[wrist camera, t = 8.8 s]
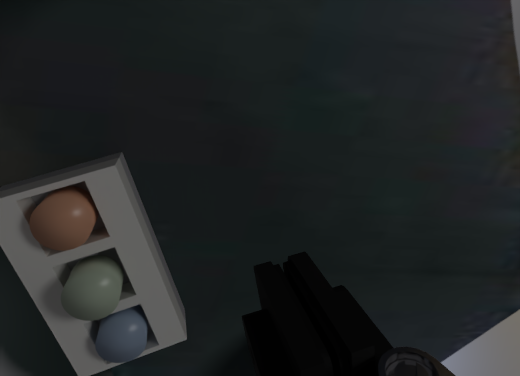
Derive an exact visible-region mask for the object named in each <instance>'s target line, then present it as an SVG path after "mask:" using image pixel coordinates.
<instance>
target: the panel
mask: <svg viewBox="0 0 520 376" xmlns="http://www.w3.org/2000/svg"><path fill="white" fill-rule="evenodd" d="M65 186H74V187H79V188H81V189H84V190H86V191H87V192H89V193H90V194H91V196H92V198H93V200H94V202H95V205H96V207H97V209H98V211H99V215H98V218H97V221H96V223H95V225H94V227H93V230H92V232H91V234H90V236H89V238H88V239H87V240H86V242H85V243H83V244H82V245H81V246H79V247H77V248H74V249H71V250H63V251H61V250H53V249H50V248H47V247H45V246H43V245H42V244H40V243H39V242H38V241H37V240H36V239H35V238H34V236H33V235H32V233H31V230H30V226H29V221H30V217H31V214H32V212H33V211H34V210H35V208H36V207H37V206H38V205H39V204H40V203H41V202H42V201H43V200H44V199H45V197H46V196H47V195H48V194H49V193H50V192H52V191H53V190H55V189H58V188H62V187H65ZM0 246H1V247H2V249H3V251H4V253H5V254H6V256H7V257H8V259H9V261H10V262H11V264H12V266H13V267H14V269H15V271H16V272H17V274H18V276H19V277H20V279H21V281H22V282H23V284H24V286H25V287H26V289H27V291H28V293H29V294H30V296H31V298H32V299H33V301H34V303H35V304H36V306H37V308H38V309H39V311H40V313H41V314H42V316H43V318H44V319H45V321H46V322H47V324H48V326H49V327H50V329H51V331H52V333H53V334H54V336H55V338H56V339H57V341H58V343H59V344H60V346H61V348H62V349H63V351H64V353H65V354H66V356H67V358H68V359H69V361H70V363H71V364H72V366H73V368H74V369H75V371H76V373H77V374H78V376H90V375H93V374H95V373H97V372H101V371H103V370H106V369H109V368H111V367H114V366H117V365H119V364H122V363H113V362H109V361H106V360H104V359H103V358H101V357H100V356H99V355H98V353H97V351H96V348H95V343H96V339H97V335H98V331H99V327H100V323H101V319H99V320H94V321H85V320H79V319H76V318H74V317H72V316H71V315H69V314H68V313H67V312H66V311H65V310H64V308H63V306H62V304H61V293H62V291H63V288H64V286H65V284H66V282H67V280H68V278H69V275H70V273H71V271H72V269H73V267H74V266H75V265H76V263H78V262H79V261H80V260H82V259H84V258H86V257H89V256H94V255H102V256H107V257H109V258H112V259H114V260H115V261H116V262H117V263H118V264H119V265H120V266H121V268H122V270H123V273H124V279H123V285H122V290H121V295H120V300H119V303H118V306H117V307H116V309H115V310H114V311H113V312H112V313H111V314H113V313H115V312H118V311H121V310H124V309H127V308H130V307H133V306H135V305H140V306H141V307H142V308H143V310H144V312H145V315H146V317H147V319H148V330H147V343H146V347H145V349H144V351H143V352H142V353H141V354H140V355H139V356H138V357H141V356H144V355H146V354H149V353H152V352H154V351H157V350H160V349H162V348H165V347H168V346H170V345H173V344H176V343H179V342H181V341H184V340H187V334H186V321H185V309H184V307H183V304H182V302H181V299H180V297H179V294H178V292H177V289H176V287H175V284H174V282H173V279H172V276H171V274H170V271H169V269H168V266H167V264H166V261H165V259H164V256H163V254H162V251H161V249H160V246H159V244H158V241H157V239H156V236H155V234H154V231H153V229H152V226H151V224H150V221H149V219H148V216H147V214H146V211H145V209H144V206H143V204H142V201H141V199H140V196H139V194H138V191H137V189H136V186H135V183H134V181H133V178H132V176H131V173H130V171H129V168H128V166H127V163H126V161H125V158H124V156H123V153H122V152H120V153H117V154H113V155H110V156H106V157H103V158H99V159H96V160H92V161H89V162H85V163H82V164H78V165H75V166H71V167H67V168H64V169H60V170H57V171H53V172H50V173H46V174H43V175H39V176H36V177H32V178H29V179H25V180H22V181H18V182H15V183H11V184H8V185H4V186H2V187H1V188H0ZM138 357H137V358H138ZM135 359H136V358H135ZM124 363H125V362H124Z"/></svg>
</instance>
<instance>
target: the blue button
mask: <svg viewBox="0 0 520 376" xmlns="http://www.w3.org/2000/svg"><path fill="white" fill-rule="evenodd" d="M147 330H148V319H147V317H146V315H145V312H144V310H143V308H142V307H141V306H140V305H135V306H133V307H130V308H127V309H124V310H121V311H118V312H115V313H113V314H110V315H108V316H106V317H105V318H102V319H101V323H100V327H99V331H98V335H97V339H96V343H95V348H96V351H97V353H98V355H99V356H100V357H101V358H103V359H104V360H106V361H109V362H113V363H124V362H128V361H131V360H133V359H135V358H137V357H138V356H139V355H140V354H141V353H142V352H143V351H144V349H145V347H146V343H147Z"/></svg>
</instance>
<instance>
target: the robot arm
mask: <svg viewBox="0 0 520 376" xmlns="http://www.w3.org/2000/svg"><path fill="white" fill-rule="evenodd" d="M283 269H284V272H283V271H282V269H281V267H280V265H279V264H277V265H273V264H272V262H271V261H270V262H267V263H263V264H260V265H256V266H254V272H255V278H256V283H257V288H258V293H259V298H260V303H261V308H262V310H259V311H256V312H253V313H250V314H246V315H243V316H242V321H243V325H244V330H245V334H246V338H247V343H248V347H249V350H250V354H251V358H252V361H253V365H254V368H255V372H256V375H257V376H455V375H454V374H453V373H452V372H451V371H449V370H448V369H447V368H446V367H445V366H444V365H442V364H441V363H440V362H439V361H438V360H437V359H436V358H434V357H433V356H431V355H430V354H428V353H427V352H425V351H422V350H420V349H417V348H412V347H396V348H393V347H392V346H391V344H390V343H389V342H388V341H387V339H386V338H385V337H384V335H383V334H382V333H381V332H380V330H379V329H378V328H377V327H376V325H375V324H374V323H373V322H372V320H371V319H370V318H369V317H368V315H367V314H366V313H365V312H364V310H363V309H362V308H361V306H360V305H359V304H358V303H357V301H356V300H355V299H354V298H353V296H352V295H351V294H350V293H349V291H348V290H347V289H346V288H345V287H344V286H342V285H340V286H337V287H334V288H332V287H331V286H330V284H329V283H328V281H327V280H326V279H325V277H324V276H323V275H322V273H321V272H320V271H319V269H318V268H317V267H316V265H315V264H314V262H313V261H312V260H311V258H310V257H309V256H308V254H307V253H306V252H302V253H298V254H295V255H291V256H288V261H287V262H284V263H283Z"/></svg>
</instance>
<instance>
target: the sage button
mask: <svg viewBox="0 0 520 376" xmlns="http://www.w3.org/2000/svg"><path fill="white" fill-rule="evenodd" d="M123 279H124V273H123V270H122V268H121V266H120V265H119V264H118V263H117V262H116V261H115V260H114V259H112V258H109V257H107V256H102V255H94V256H89V257H86V258H84V259H82V260H80V261H79V262H78V263H76V265H75V266H74V267H73V269H72V271H71V273H70V275H69V278H68V280H67V282H66V284H65V286H64V288H63V291H62V293H61V304H62V306H63V308H64V310H65V311H66V312H67V313H68V314H69V315H71V316H72V317H74V318H76V319H79V320H85V321H94V320H99V319H102V318H105V317H106V316H108V315H110V314H111V313H112V312H113V311H114V310H115V309H116V307H117V306H118V303H119V300H120V295H121V290H122V285H123Z"/></svg>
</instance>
